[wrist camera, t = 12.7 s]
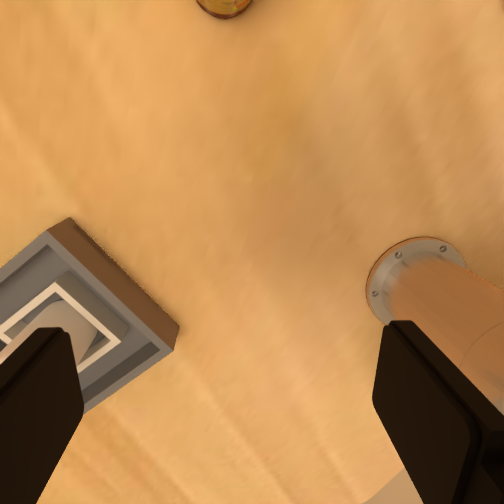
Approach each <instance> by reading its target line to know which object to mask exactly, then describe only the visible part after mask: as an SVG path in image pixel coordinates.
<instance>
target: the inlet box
mask: <svg viewBox="0 0 504 504" xmlns="http://www.w3.org/2000/svg"><path fill="white" fill-rule="evenodd" d="M60 300H65V301H67V302H68V303H69V304H70V305H71V306H72V307H73V308H74V309H76V310H77V311H78V312H79V313H80V314H81V315H82V316H84V317H85V318H86V319H87V320H88V321H89V322H90V323H91V324H93V325H94V326H95V327H96V328H97V329H98V331H97V334H96V336H95V338H94V340H93V341H92V343H91V345H90V346H89V348H88V349H87V351H86V353H85V354H84V356H83V357H82V359H81V360H80V362H79V364H78V365H77V372H78V377H79V382H80V386H81V391H82V396H83V401H84V413H83V414H85V413H86V412H88V411H89V410H90V409H92V408H93V407H95V406H96V405H97V404H99V403H100V402H102V401H103V400H105V399H106V398H107V397H109V396H110V395H112V394H113V393H115V392H116V391H117V390H119V389H120V388H122V387H123V386H124V385H126V384H127V383H129V382H130V381H132V380H133V379H134V378H136V377H137V376H139V375H140V374H141V373H143V372H144V371H146V370H147V369H149V368H150V367H151V366H153V365H154V364H156V363H157V362H159V361H160V360H161V359H163V358H164V357H166V356H167V355H168V354H170V353H171V352H173V350H174V346H175V342H176V338H177V334H178V329H179V326H178V325H177V324H176V323H175V322H174V321H173V320H172V319H171V318H170V317H169V316H168V315H167V314H166V313H165V312H164V311H163V310H162V309H161V308H160V307H159V306H158V305H157V304H156V303H155V302H154V301H153V300H152V299H151V298H150V297H149V296H148V295H147V294H146V293H145V292H144V291H143V290H142V289H141V288H140V287H139V286H138V285H137V284H136V283H135V282H134V281H133V280H132V279H131V278H130V277H129V276H128V275H127V274H126V273H125V272H124V271H123V270H122V269H121V268H120V267H119V266H118V265H117V264H116V263H115V262H114V261H113V260H112V259H111V258H110V257H109V256H108V255H107V254H106V253H105V252H104V251H103V250H102V249H101V248H100V247H99V246H98V245H97V244H96V243H95V242H94V241H93V240H92V239H91V238H90V237H89V236H88V235H87V234H86V233H85V232H84V231H83V230H82V229H81V228H80V227H79V226H78V225H77V224H76V223H75V222H74V221H73V220H72V219H71V218H70V217H69V218H67V219H65V220H63V221H62V222H60V223H58V224H56V225H54V226H53V227H51V228H49V229H47V230H46V231H44V232H43V233H42V234H41V235H40V236H38V237H37V238H36V239H35V240H34V241H33V242H31V243H30V244H29V245H28V246H27V247H25V248H24V249H23V250H22V251H21V252H19V253H18V254H17V255H16V256H15V257H14V258H12V259H11V260H10V261H9V262H8V263H6V264H5V265H4V266H3V267H2V268H0V352H1V351H2V350H3V349H4V348H5V347H6V346H7V345H8V344H9V343H10V342H11V341H12V340H13V339H14V338H15V337H16V336H17V335H18V334H19V333H20V332H21V331H22V330H23V329H24V328H25V327H26V326H27V325H28V324H29V323H30V322H31V321H33V320H34V319H35V318H36V317H37V316H38V315H39V314H40V313H41V312H42V311H43V310H44V309H45V308H46V307H47V306H48V305H50V304H51V303H53V302H56V301H60Z"/></svg>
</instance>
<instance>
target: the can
mask: <svg viewBox="0 0 504 504" xmlns="http://www.w3.org/2000/svg"><path fill="white" fill-rule="evenodd" d="M40 327H61V328H62V329H63V330H64V332H68V333H69V334H70V338H71V343H72V347H73V352H74V357H75V362H76V367H77V365H78V364H79V362H80V360H81V359H82V357H83V356H84V354H85V353H86V351H87V349H88V348H89V346H90V345H91V343H92V341H93V340H94V338H95V336H96V334H97V331H98V329H97V328H96V327H95V326H94V325H93V324H91V323H90V322H89V321H88V320H87V319H86V318H85V317H84V316H82V315H81V314H80V313H79V312H78V311H77V310H76V309H74V308H73V307H72V306H71V305H70V304H69V303H68V302H67V301H65V300H60V301H56V302H53V303H51V304H50V305H48V306H47V307H46V308H45V309H44V310H43V311H42V312H41V313H40V314H39V315H38V316H37V317H36V318H35V319H34V320H33V321H31V322H30V323H29V324H28V325H27V326H26V327H25V328H24V329H23V330H22V331H21V332H20V333H19V334H18V335H17V336H16V337H15V338H14V339H13V340H12V341H11V342H10V343H9V344H8V345H7V346H6V347H5V348H4V349H3V350H2V351H1V352H0V364H1V363H2V362H3V361H4V360H5V359H6V358H7V357H8V356H9V355H10V354H11V353H12V352H13V351H14V350H15V349H16V348H17V347H18V346H19V345H20V344H22V343H23V342H24V341H25V340H26V339H27V338H28V337H29V336H30V335H31V334H32V333H33V332H34V331H35V330H36V329H37V328H40Z"/></svg>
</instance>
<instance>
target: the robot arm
mask: <svg viewBox="0 0 504 504" xmlns="http://www.w3.org/2000/svg"><path fill="white" fill-rule="evenodd" d="M366 296H367V301H368V304H369V307H370V308H371V310H372V312H373V313H374V314H375V316H376V317H377V318H378V319H379V320H380V321H381V322H382V323H384V324H386V326H384V328H383V333H382V339H381V345H380V351H379V357H378V363H377V369H376V376H375V382H374V388H373V394H372V401H373V405H374V408H375V410H376V412H377V414H378V416H379V418H380V420H381V422H382V424H383V426H384V428H385V430H386V431H387V433H388V435H389V437H390V439H391V441H392V443H393V445H394V447H395V449H396V451H397V453H398V455H399V457H400V459H401V461H402V463H403V464H404V466H405V468H406V470H407V472H408V474H409V476H410V478H411V480H412V482H413V484H414V486H415V488H416V489H417V491H418V493H419V495H420V497H421V499H422V501H423V503H424V504H504V291H503V290H501V289H499V288H498V287H496V286H494V285H493V284H491V283H489V282H487V281H486V280H484V279H482V278H480V277H479V276H477V275H475V274H473V273H472V272H470V271H468V270H467V268H466V264H465V261H464V259H463V257H462V256H461V254H460V253H459V251H457V250H456V249H455V248H454V247H453V246H451V245H450V244H448V243H446V242H444V241H441V240H439V239H436V238H429V237H421V238H414V239H410V240H406V241H404V242H402V243H399V244H397V245H396V246H394V247H392V248H391V249H389V250H388V251H387V252H386V253H385V254H384V255H382V256H381V258H380V259H379V260H378V261H377V262H376V264H375V265H374V267H373V269H372V271H371V273H370V275H369V278H368V281H367V287H366ZM83 413H84V401H83V396H82V391H81V386H80V382H79V377H78V372H77V367H76V362H75V357H74V352H73V347H72V343H71V338H70V334H69V333H68V332H64V330H63V329H62V328H61V327H40V328H37V329H36V330H35V331H34V332H33V333H32V334H31V335H30V336H29V337H28V338H27V339H26V340H25V341H24V342H23V343H22V344H20V345H19V346H18V347H17V348H16V349H15V350H14V351H13V352H12V353H11V354H10V355H9V356H8V357H7V358H6V359H5V360H4V361H3V362H2V363H1V364H0V504H36V503H37V501H38V499H39V497H40V495H41V493H42V492H43V490H44V488H45V486H46V484H47V482H48V480H49V479H50V477H51V475H52V473H53V471H54V469H55V467H56V465H57V464H58V462H59V460H60V458H61V456H62V454H63V452H64V451H65V449H66V447H67V445H68V443H69V441H70V439H71V438H72V436H73V434H74V432H75V430H76V428H77V426H78V425H79V423H80V421H81V419H82V417H83Z"/></svg>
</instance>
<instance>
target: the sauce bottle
mask: <svg viewBox="0 0 504 504" xmlns="http://www.w3.org/2000/svg"><path fill="white" fill-rule="evenodd" d="M196 1H197V3H198V4H199V5H200V7H201V8H202V9H204V10H205V11H206V12H208V13H209V14H211V15H213V16H215V17H218V18H224V19H225V18H232V17H234V16H236V15H238V14H240V13H242V12H243V11H244V10H245V8H246V7H247V6H248V5H249V2H250V1H251V0H196Z"/></svg>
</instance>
